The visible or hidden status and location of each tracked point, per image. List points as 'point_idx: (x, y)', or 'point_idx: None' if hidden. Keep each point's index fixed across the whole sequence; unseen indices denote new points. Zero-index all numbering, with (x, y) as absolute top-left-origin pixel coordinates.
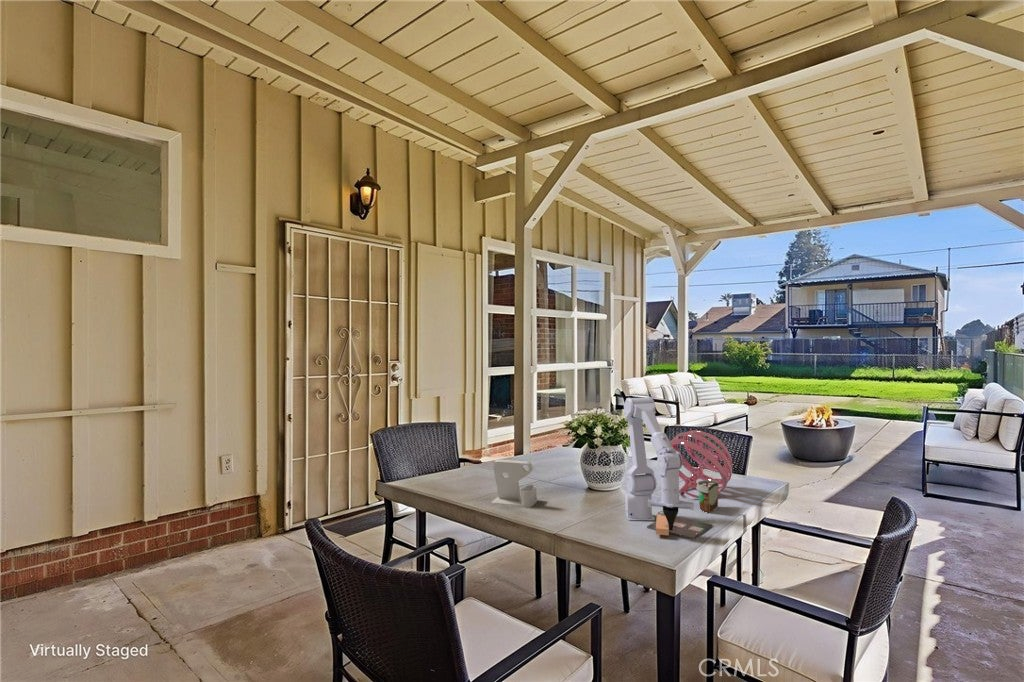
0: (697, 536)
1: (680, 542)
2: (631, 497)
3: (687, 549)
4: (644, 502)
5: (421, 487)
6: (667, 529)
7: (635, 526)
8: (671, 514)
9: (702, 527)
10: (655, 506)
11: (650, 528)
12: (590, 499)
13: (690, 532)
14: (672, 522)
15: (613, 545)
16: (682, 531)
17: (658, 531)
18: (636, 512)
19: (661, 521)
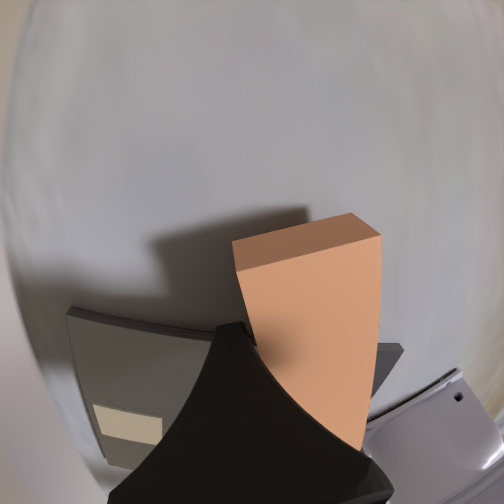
0: (78, 358)
1: (118, 204)
2: (489, 456)
3: (39, 89)
4: (431, 474)
5: None
6: (249, 267)
7: (448, 328)
8: (214, 473)
9: (118, 442)
10: (478, 475)
11: (383, 345)
12: (495, 411)
13: (126, 385)
14: (209, 381)
15: (497, 8)
16: (174, 383)
17: (340, 228)
18: (444, 416)
19: (334, 403)
